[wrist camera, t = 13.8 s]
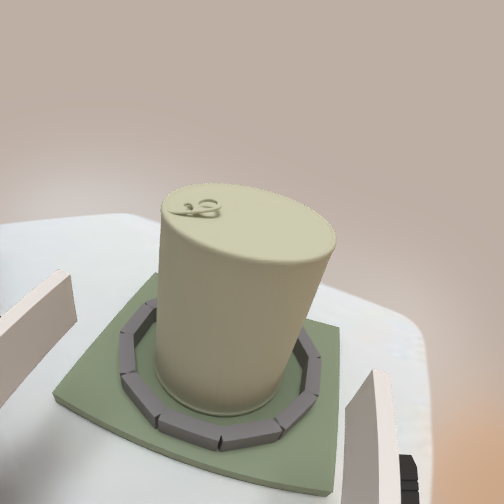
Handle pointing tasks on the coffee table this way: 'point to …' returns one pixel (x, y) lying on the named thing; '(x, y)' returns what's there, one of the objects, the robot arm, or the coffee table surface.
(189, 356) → the can
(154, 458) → the coffee table surface
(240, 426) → the deck mount
